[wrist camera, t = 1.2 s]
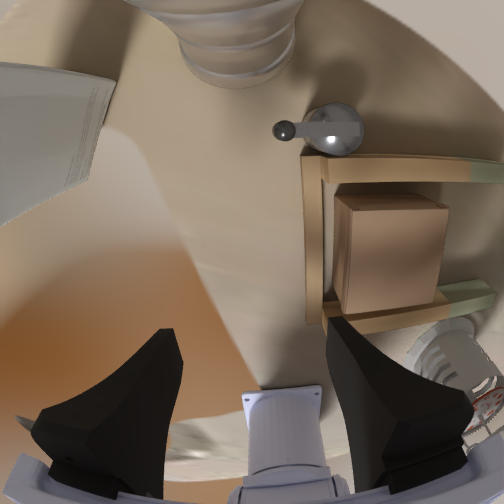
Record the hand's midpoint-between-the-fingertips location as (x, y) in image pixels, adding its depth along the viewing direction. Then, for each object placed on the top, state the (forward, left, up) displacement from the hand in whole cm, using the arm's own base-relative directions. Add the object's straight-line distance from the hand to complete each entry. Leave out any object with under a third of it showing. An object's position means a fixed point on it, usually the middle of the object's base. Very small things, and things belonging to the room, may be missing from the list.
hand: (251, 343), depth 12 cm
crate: (0, -10, -11) cm, 14 cm away
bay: (0, -14, -10) cm, 17 cm away
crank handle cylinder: (+8, -4, -10) cm, 14 cm away
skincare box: (+11, +12, -11) cm, 20 cm away
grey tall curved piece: (-15, -19, -11) cm, 27 cm away
